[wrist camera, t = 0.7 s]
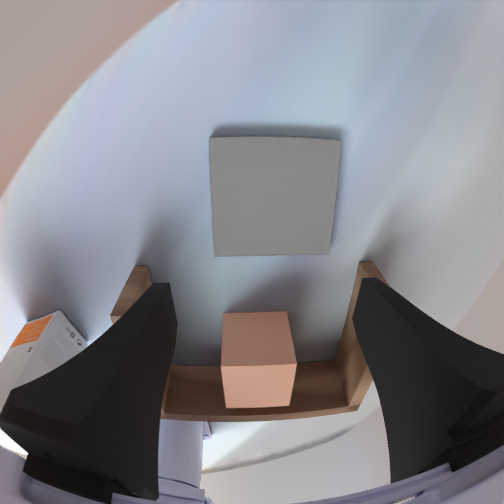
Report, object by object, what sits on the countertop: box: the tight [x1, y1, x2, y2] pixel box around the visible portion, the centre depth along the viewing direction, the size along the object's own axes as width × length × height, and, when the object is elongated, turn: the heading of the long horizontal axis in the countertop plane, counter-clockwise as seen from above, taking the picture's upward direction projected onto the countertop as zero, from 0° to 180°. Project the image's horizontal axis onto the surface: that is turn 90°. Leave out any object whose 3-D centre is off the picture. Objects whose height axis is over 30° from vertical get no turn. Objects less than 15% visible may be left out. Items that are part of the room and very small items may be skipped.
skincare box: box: [0, 310, 87, 455], centre depth 17 cm, size 6×4×12 cm
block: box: [221, 311, 297, 408], centre depth 20 cm, size 5×4×5 cm
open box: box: [110, 262, 389, 422], centre depth 20 cm, size 11×16×5 cm
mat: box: [209, 136, 341, 256], centre depth 17 cm, size 7×7×1 cm
